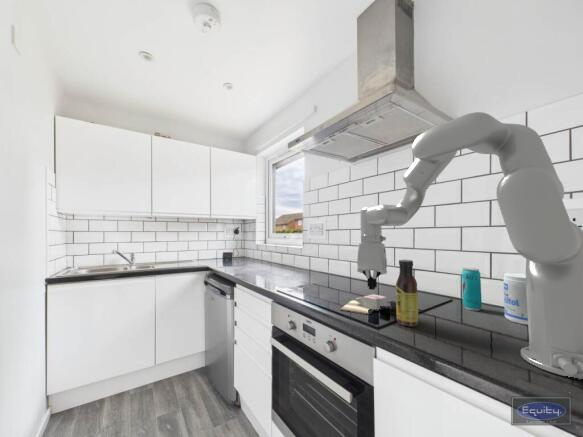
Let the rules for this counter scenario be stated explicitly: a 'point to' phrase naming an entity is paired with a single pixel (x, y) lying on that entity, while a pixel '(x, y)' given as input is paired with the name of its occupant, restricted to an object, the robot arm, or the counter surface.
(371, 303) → the tea bag
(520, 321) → the supplement tub
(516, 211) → the robot arm
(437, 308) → the counter surface
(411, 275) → the sauce bottle
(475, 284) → the beverage can
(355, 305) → the cream folded towel
